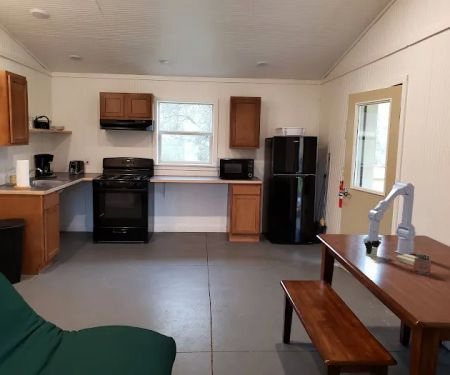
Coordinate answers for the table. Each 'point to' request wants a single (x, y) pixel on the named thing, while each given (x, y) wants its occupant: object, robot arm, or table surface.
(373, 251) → the sage block
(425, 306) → the table surface
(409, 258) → the maple block
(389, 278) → the table surface
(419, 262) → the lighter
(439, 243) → the table surface
